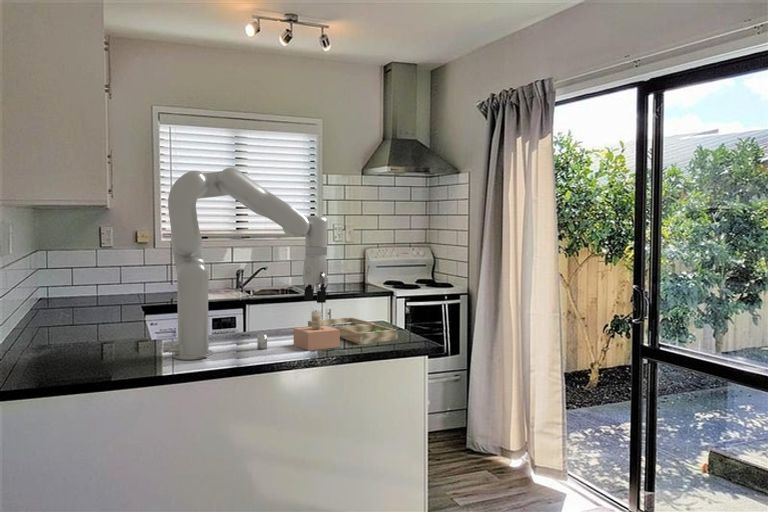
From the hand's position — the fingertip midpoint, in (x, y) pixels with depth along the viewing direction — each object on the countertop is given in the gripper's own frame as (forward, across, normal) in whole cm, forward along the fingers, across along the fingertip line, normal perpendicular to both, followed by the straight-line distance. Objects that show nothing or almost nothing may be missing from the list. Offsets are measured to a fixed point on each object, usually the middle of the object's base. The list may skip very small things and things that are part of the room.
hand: (314, 301), depth 209 cm
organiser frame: (+15, -12, +23) cm, 30 cm away
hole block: (+16, 0, +1) cm, 16 cm away
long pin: (+16, 0, +1) cm, 16 cm away
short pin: (+16, -5, -17) cm, 24 cm away
